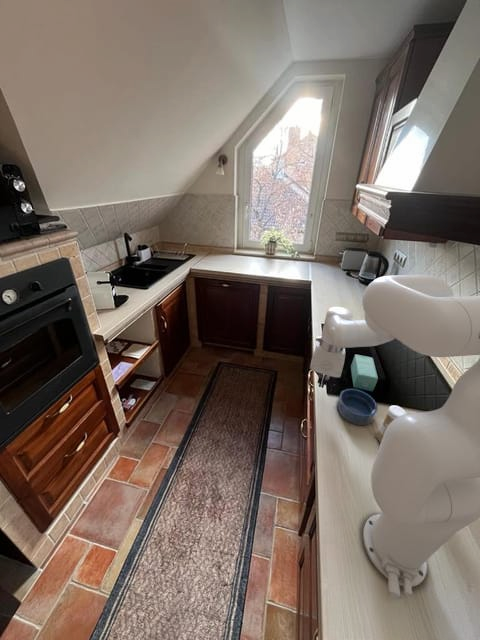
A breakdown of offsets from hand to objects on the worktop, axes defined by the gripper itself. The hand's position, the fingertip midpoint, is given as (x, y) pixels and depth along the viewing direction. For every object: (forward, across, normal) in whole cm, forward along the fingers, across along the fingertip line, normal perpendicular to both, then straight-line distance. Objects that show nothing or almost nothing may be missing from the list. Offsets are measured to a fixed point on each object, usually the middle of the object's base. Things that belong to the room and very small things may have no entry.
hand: (321, 384), depth 92 cm
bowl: (+8, +13, 0) cm, 15 cm away
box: (+8, +15, +19) cm, 25 cm away
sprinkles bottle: (+7, +22, -8) cm, 25 cm away
